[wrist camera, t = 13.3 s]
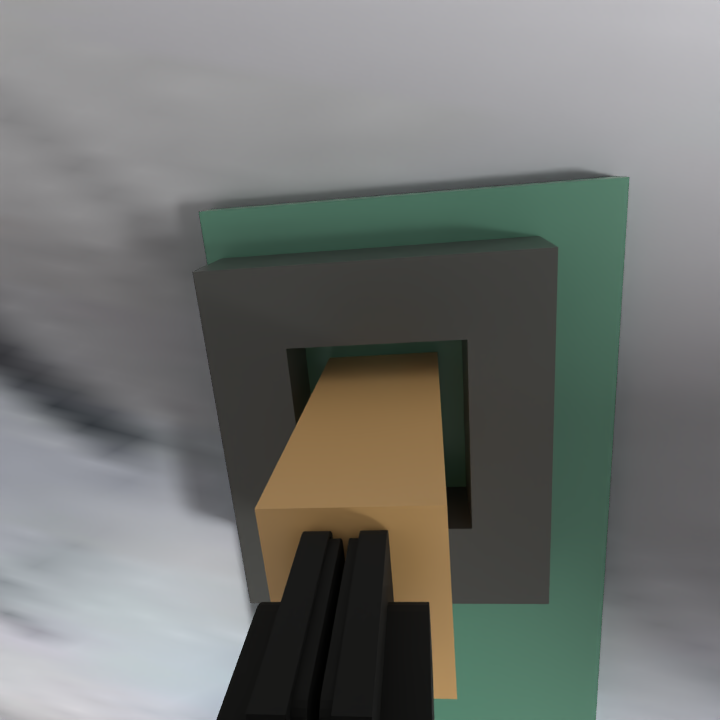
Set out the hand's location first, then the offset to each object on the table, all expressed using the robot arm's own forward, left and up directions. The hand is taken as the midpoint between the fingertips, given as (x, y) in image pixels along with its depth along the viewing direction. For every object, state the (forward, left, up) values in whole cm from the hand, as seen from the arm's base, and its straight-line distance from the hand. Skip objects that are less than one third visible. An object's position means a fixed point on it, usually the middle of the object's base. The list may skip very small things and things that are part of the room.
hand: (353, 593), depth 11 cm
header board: (-1, +6, -10) cm, 12 cm away
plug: (0, 0, -9) cm, 9 cm away
